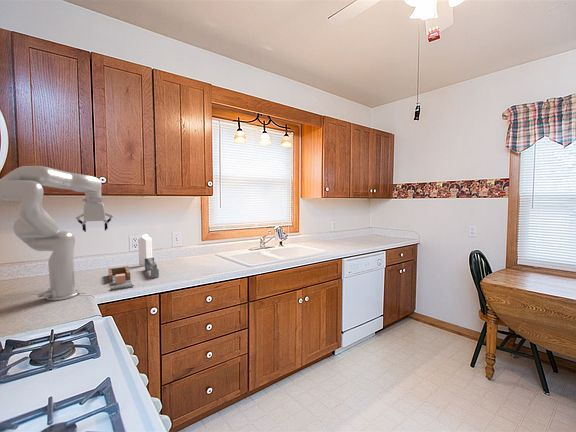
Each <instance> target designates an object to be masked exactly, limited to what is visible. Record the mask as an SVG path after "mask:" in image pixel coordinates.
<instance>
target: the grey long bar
mask: <svg viewBox="0 0 576 432" xmlns="http://www.w3.org/2000/svg"><path fill="white" fill-rule="evenodd" d="M144 260H145V266H144V271H150V279H157V278H159V277H160V273H159V271H160V269H159V268H158V264H157V263H156V261H155V258H154V257H153V258H146V259H144Z"/></svg>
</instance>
